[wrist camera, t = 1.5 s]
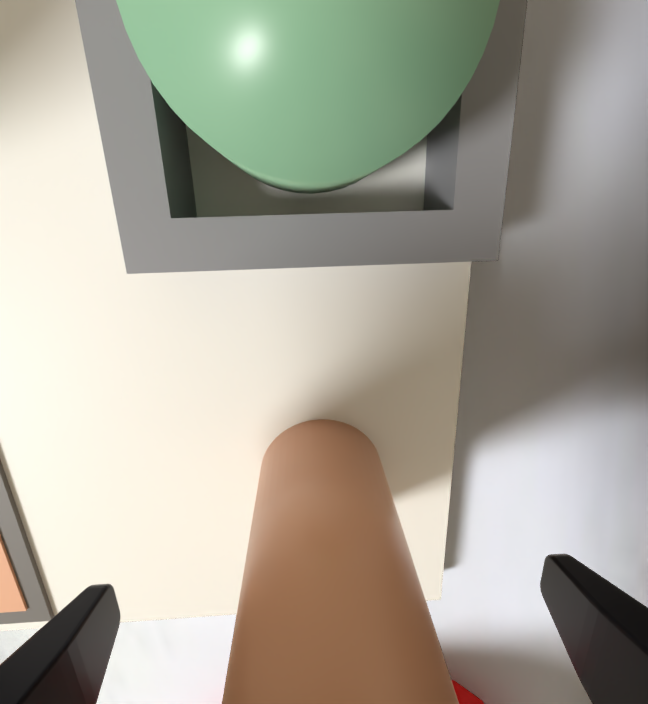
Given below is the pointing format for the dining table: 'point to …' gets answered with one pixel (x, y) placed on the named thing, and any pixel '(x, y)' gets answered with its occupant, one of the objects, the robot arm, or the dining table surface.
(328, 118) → the button
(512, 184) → the dining table surface
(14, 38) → the cream board with squares
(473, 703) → the kitchen timer
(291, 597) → the terracotta marker
